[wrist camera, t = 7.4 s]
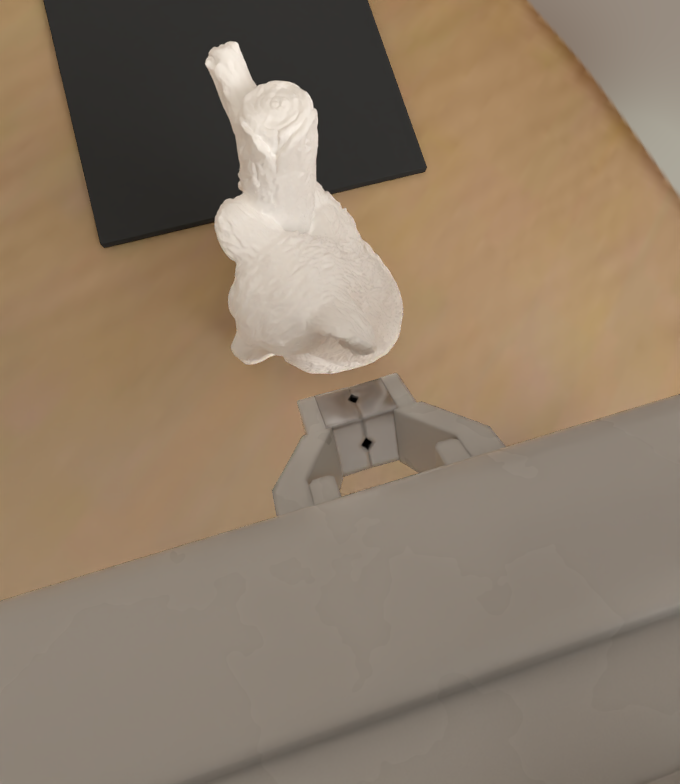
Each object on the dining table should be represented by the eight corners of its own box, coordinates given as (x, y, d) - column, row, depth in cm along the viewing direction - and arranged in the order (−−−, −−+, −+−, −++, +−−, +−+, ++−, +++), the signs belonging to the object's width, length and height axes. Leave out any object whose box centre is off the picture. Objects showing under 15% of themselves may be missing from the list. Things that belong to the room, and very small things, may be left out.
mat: (425, 171, 25) (427, 167, 25) (103, 248, 24) (100, 244, 23) (314, -141, 28) (315, -149, 28) (23, -93, 27) (19, -102, 26)
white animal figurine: (204, 266, 24) (102, 52, 12) (337, 221, 25) (364, -20, 13) (266, 434, 23) (220, 379, 11) (405, 381, 23) (502, 277, 12)
